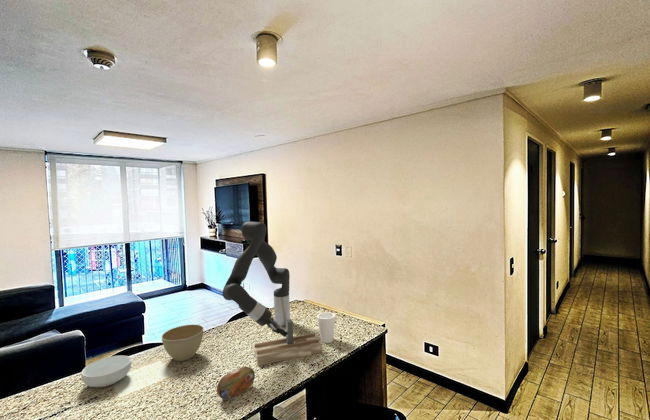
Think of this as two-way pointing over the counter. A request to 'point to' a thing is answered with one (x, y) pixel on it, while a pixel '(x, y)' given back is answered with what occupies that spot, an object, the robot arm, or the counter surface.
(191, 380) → the counter surface
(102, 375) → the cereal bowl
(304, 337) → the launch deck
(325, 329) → the foam cup
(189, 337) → the deep beige bowl
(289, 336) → the plunger
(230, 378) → the tin
